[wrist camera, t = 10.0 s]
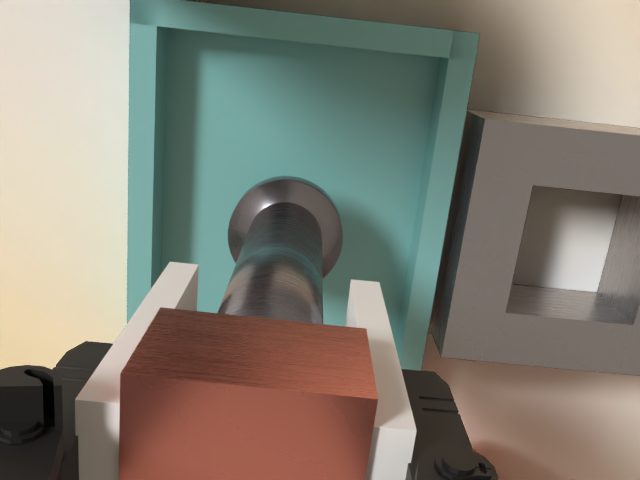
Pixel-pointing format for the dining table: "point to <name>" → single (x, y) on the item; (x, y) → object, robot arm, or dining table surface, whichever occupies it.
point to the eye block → (505, 237)
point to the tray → (295, 144)
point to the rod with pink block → (255, 361)
